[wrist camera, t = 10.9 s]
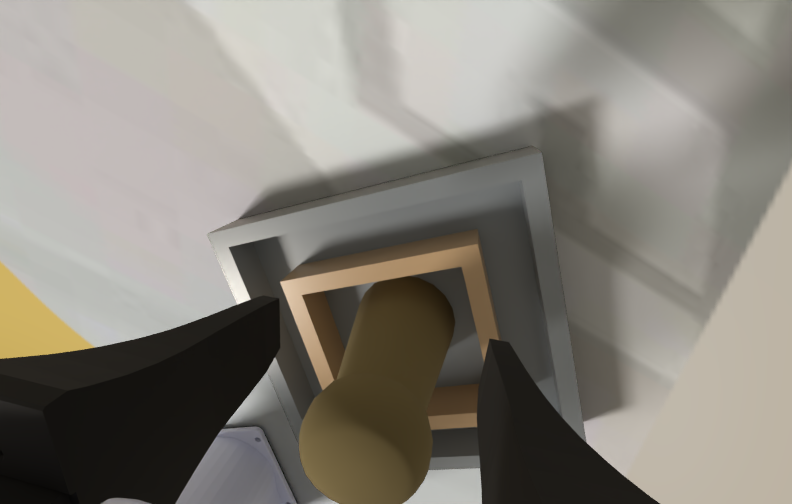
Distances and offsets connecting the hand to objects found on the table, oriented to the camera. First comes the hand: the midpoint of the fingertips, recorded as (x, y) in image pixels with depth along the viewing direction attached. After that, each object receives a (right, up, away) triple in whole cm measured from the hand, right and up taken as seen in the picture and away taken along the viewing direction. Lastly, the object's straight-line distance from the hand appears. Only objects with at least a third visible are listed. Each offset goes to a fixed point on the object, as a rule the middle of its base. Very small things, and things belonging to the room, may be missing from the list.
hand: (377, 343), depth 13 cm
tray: (+1, -1, +12) cm, 12 cm away
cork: (+1, -1, +11) cm, 11 cm away
